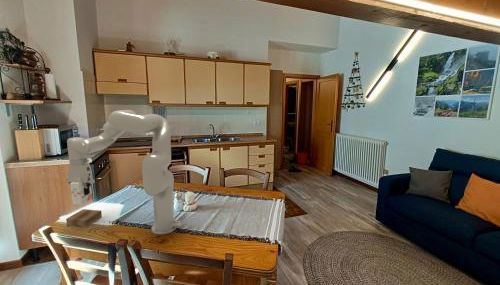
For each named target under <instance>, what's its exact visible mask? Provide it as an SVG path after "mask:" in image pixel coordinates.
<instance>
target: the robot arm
mask: <svg viewBox="0 0 500 285" xmlns="http://www.w3.org/2000/svg"><path fill="white" fill-rule="evenodd" d="M107 119H108V120H107V122H106V123H103V124H104V125H103V126H102V130H103V132H102V133H100V134H99V135H97V136H92V137H88V138H84V137H78V136H75V137H69V138H68V139H67V140H66V144H67V153H68V163H69V164H68V167H67V178H66V182H67V184H69V185H70V183H72V182H78V178H79V177H81V181H82V183H83V184H84V187H85V188H84V195H88V194H90V188H89V187H90V186H91V187H92V185H93V184H94V183H95V182H96V181H95V179H94V178H93V171H92V167H91V164H90V163H89V162H90V159H88V155H89V154H92V153H96V152H100V151H102V150H105V149H107V148H108V147H110V146H111V145H112V144H115V142H116V141H117V140H118V138H119V137H121V136H122V135H123V134H124V133H125V132H128V133H132V134H137V135H145V134H149V133H152V132H153V136H152V140H151V143H152V144H151V145H152V148H151V149H152V150H151V152H150V153H149V154H147V155H145V157H144V158H143V159H142V164H141V173H142V187H143V191H144V192H145V193H146V194H147V196H151V197H152V198H153V200H152V201H153V219H154V224H153V225H151V232H152V233H153V234H155V235H166V234H168V235H169V234H170V233H173V232H174V231H176V229H177V228H181V227H182V225H183V224H182V223H181V222H182V221H181V220H176V217H175V216H174V183H175V178H174V174H173V173H172V171H170V170H169V169H167V168H168V167H169V166H170V164H171V163H172V144H171V136H172V135H171V127H170V123H169V121H168V120H167V119H166V118H165V117H163V116H162V115H159V114H156V113H149V114H142V115H139V114H137V113H136V112H135V111H134V110H132V109H123V110H122V109H121V110H120V109H119V110H115V111H112V112H111V113H110V114H109V116H108V118H107ZM89 181H90V183H89ZM86 183H87V184H86Z"/></svg>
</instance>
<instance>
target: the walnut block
mask: <svg viewBox="0 0 500 285" xmlns="http://www.w3.org/2000/svg"><path fill="white" fill-rule="evenodd" d="M102 218H103V215H102V210H98V209H85V208H83V209H80V210H79V211H77V212H75V213H74V214H72V215H71V216H68V217H67V218H66V219H65V220H66V226H67V227H72V228H73V227H74V228H84V229H86V228H88V227H89V228H90V226H91V225H93V224H94V223H96V222H98V221H99V220H100V219H102Z"/></svg>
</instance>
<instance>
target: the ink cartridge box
mask: <svg viewBox="0 0 500 285" xmlns="http://www.w3.org/2000/svg"><path fill="white" fill-rule="evenodd" d="M89 183H90V181H89ZM86 184H87V183H86ZM69 186H70V194H71V200H72V205H83V204H85V203H87V202H88V201H90V200H92V199H93V191H92V185H91V186H90V187H89V188H90V194H88V195H84V188H85V187H84V184H83V183H82V181H81V177H79V178H78V182H72V183H70V184H69Z"/></svg>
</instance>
